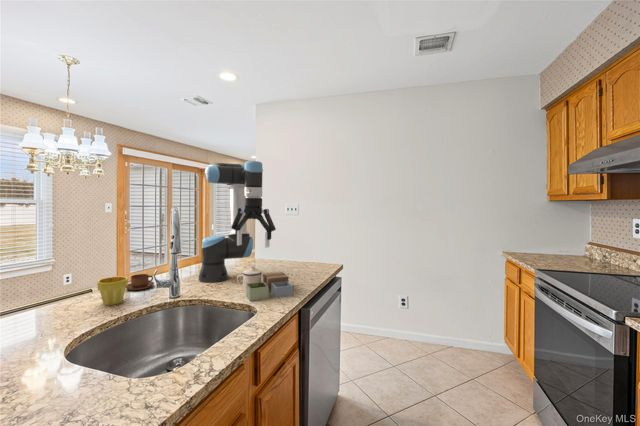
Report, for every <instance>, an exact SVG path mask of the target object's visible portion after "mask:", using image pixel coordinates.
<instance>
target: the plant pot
mask: <svg viewBox="0 0 640 426" xmlns="http://www.w3.org/2000/svg"><path fill="white" fill-rule="evenodd" d="M128 279H129V278H128V277H127V276H121V275H120V276H119V275H118V276H109V277H104V278H101V279H98V281H97V285H96V286H97V290H98V291H99V293H100V297H101V300H102V305H105V306H114V305H118V304H120V303H121V304H122V303H123V299H124V297H125V292H126V287H127V285H128V284H129V283H128V282H129V280H128Z"/></svg>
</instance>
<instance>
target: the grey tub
mask: <svg viewBox="0 0 640 426" xmlns="http://www.w3.org/2000/svg"><path fill="white" fill-rule="evenodd" d="M270 293H271V294H272V295H273V296H274V298H283V297H292V296H294V284H292V283H291V282H290V281H285V282H275V283H271V292H270Z"/></svg>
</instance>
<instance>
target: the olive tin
mask: <svg viewBox="0 0 640 426" xmlns="http://www.w3.org/2000/svg"><path fill="white" fill-rule="evenodd" d="M245 292H246V298H247V299H248V301H249V302H250V303H251V302H257V301H266V300H267V301H268V300H269V292H268V286H267V285H266V283H265V282H263V281H261V282H260V283H250V284H247V291H245Z"/></svg>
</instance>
